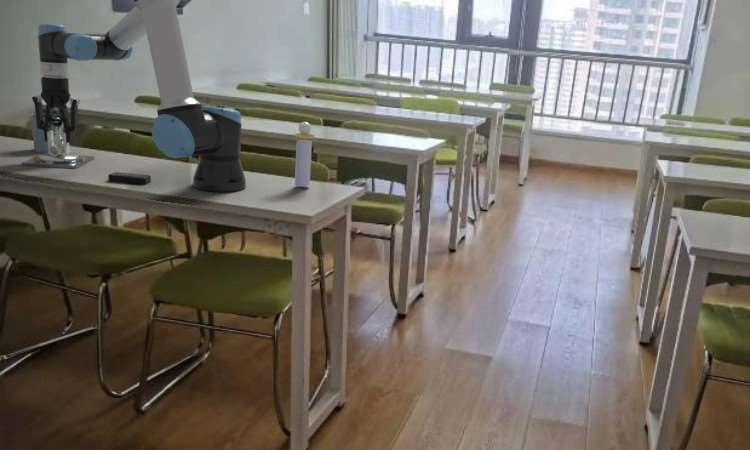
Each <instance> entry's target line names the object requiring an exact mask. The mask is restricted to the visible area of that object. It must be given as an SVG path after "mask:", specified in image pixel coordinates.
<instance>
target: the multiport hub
mask: <svg viewBox="0 0 750 450" xmlns="http://www.w3.org/2000/svg"><path fill="white" fill-rule="evenodd" d="M107 178H108V182H110V183H120V184H128V185H129V184H130V185H139V186H141V185H142V186H146V185H148V184H150V183H151V181H152V177H151V175H150V174H148V175H147V174H142V173H141V174H140V173H129V172H128V173H127V172H119V171H114V172H112V173H110V174H108V177H107Z"/></svg>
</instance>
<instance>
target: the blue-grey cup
mask: <svg viewBox="0 0 750 450" xmlns="http://www.w3.org/2000/svg"><path fill="white" fill-rule="evenodd" d="M45 114H46V112H43V117H44V121H45ZM53 116H56V117H61V114H58V113H53ZM29 118H30V126H31V127H30V128H31V129H32V131H31V133H32V139H33V149H34V152H36V153H41V154H43V153H48V141H45V138H44V131H43V130H42V129H38V128H37V121H36V113H32V114H30V115H29ZM52 123H54V122H52ZM55 129H56V126H54V125H52V124H51V130H50V131H53V136H54V137H55V136H56V134H55V132H54V130H55ZM59 129H61V134H60V136H62V137H63V133H64V132H63V130H64V125H63V121H62V125H61V126H59Z"/></svg>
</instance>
